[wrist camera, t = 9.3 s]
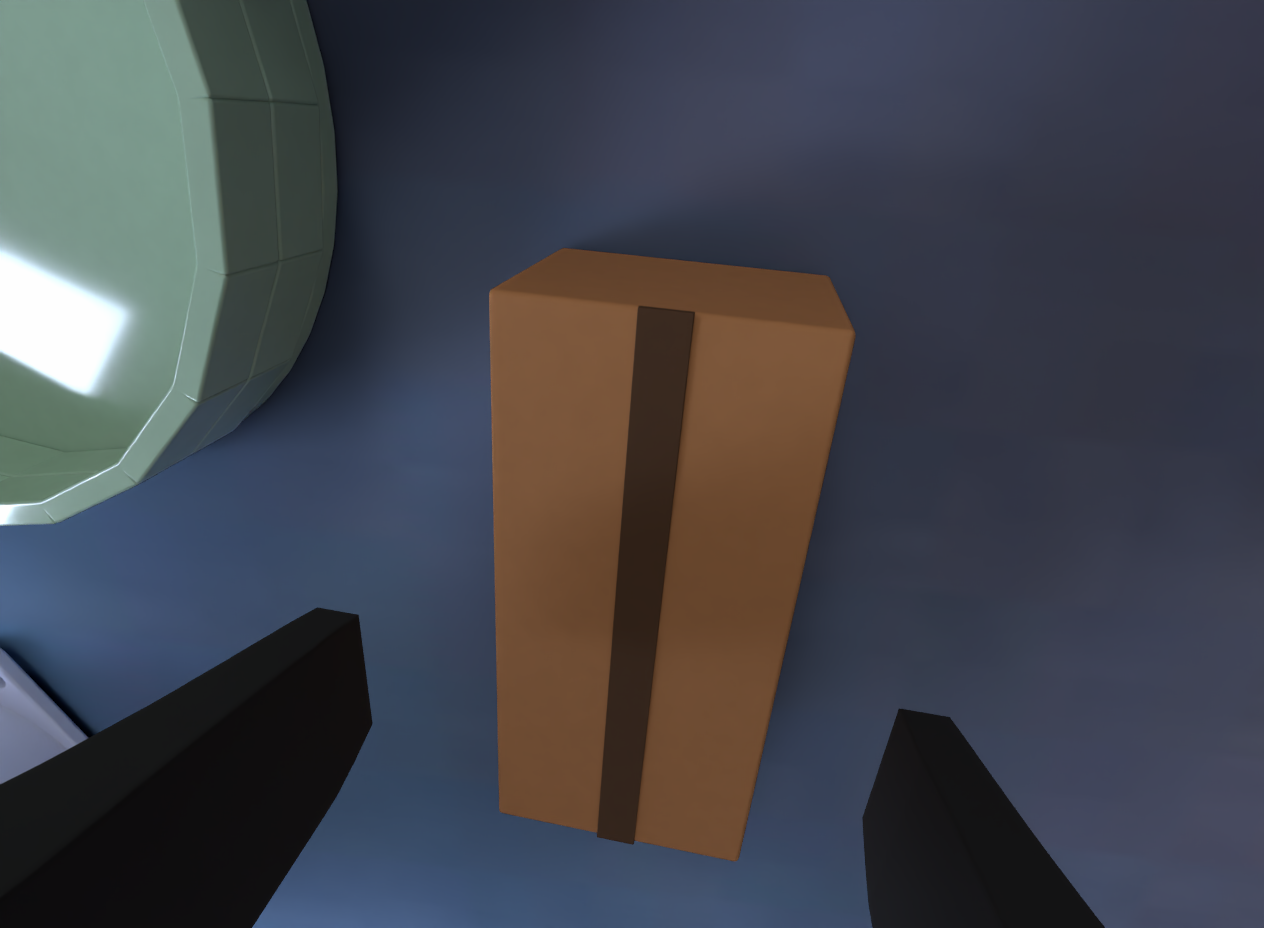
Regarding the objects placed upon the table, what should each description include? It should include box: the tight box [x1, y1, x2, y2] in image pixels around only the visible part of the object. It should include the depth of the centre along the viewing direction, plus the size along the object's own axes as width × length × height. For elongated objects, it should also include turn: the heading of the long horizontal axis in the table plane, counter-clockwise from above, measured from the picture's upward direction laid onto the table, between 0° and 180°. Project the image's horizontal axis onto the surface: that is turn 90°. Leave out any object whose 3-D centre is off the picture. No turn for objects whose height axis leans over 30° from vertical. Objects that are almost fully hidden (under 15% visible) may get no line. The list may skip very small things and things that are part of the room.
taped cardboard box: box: [489, 248, 856, 861], centre depth 12 cm, size 10×5×4 cm, turn 176°
